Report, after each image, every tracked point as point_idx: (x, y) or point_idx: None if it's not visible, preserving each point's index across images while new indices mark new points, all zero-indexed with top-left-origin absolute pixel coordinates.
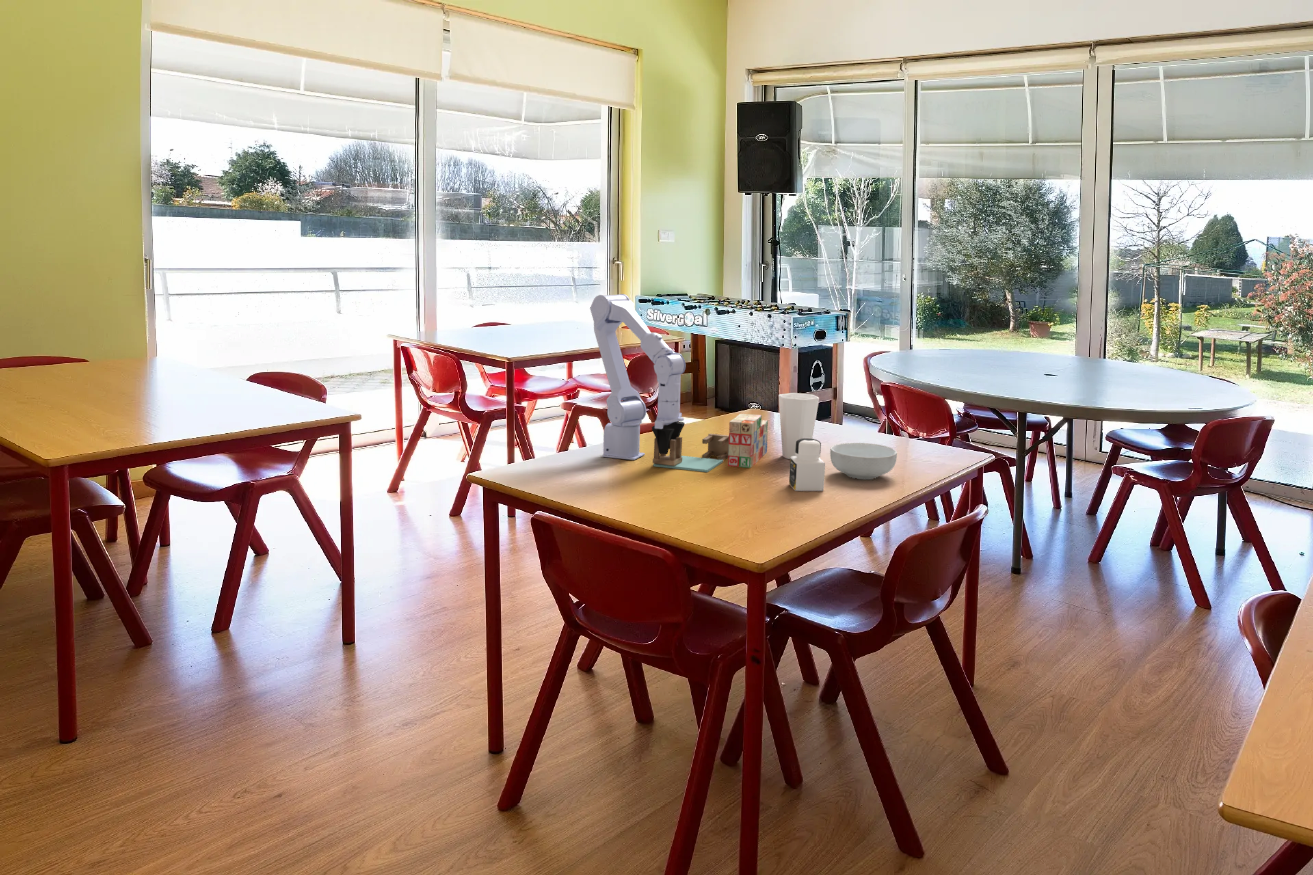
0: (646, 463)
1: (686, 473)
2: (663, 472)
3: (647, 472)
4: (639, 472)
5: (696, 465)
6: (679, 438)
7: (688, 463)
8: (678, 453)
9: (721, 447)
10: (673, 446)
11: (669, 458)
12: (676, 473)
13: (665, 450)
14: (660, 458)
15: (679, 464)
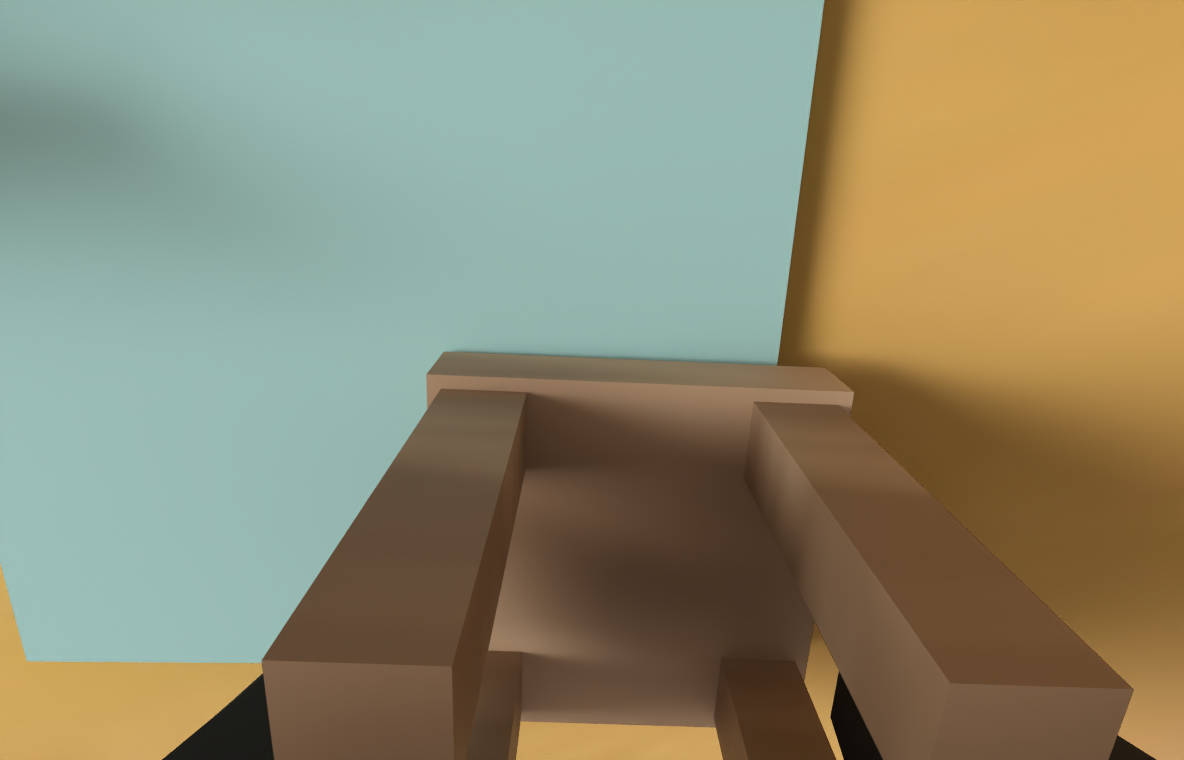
0: (607, 755)
1: (1038, 67)
2: (1050, 417)
3: (1096, 592)
4: (1116, 668)
5: (565, 25)
6: (463, 684)
7: (476, 221)
8: (516, 454)
9: None
10: (991, 574)
11: (650, 532)
12: (1073, 223)
13: None
14: (718, 647)
15: (618, 337)
